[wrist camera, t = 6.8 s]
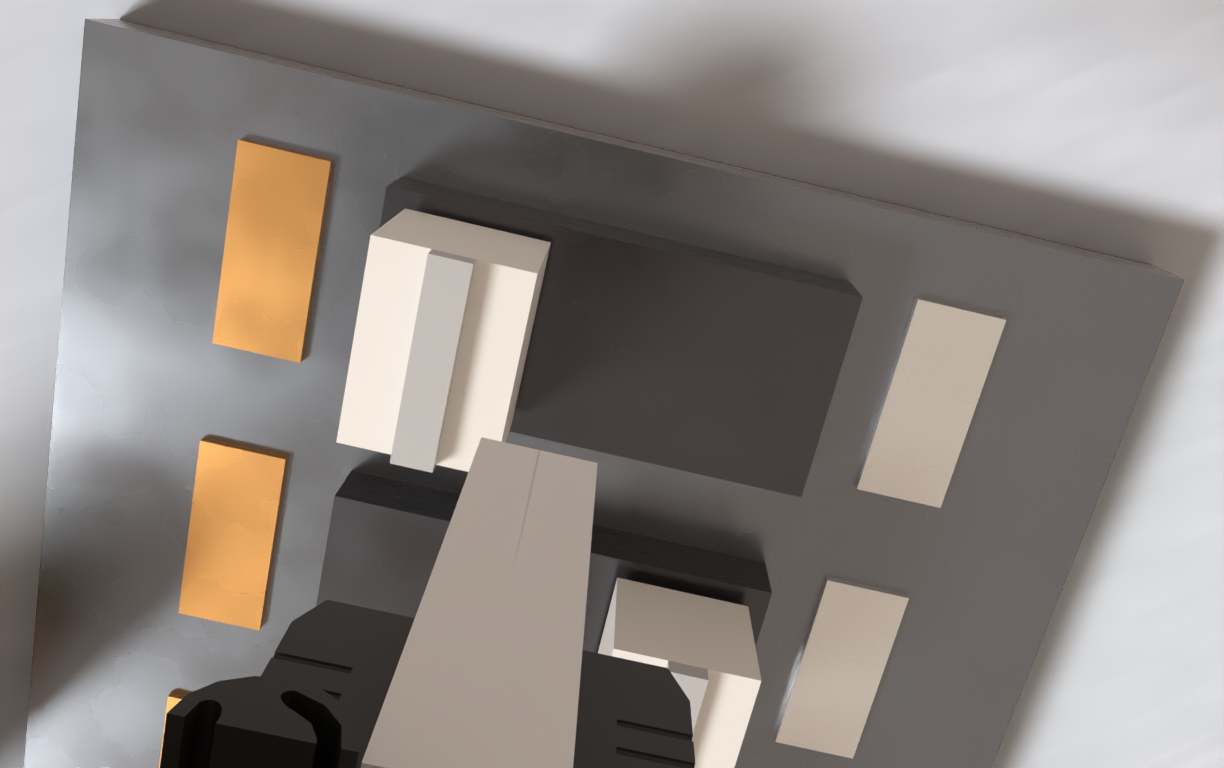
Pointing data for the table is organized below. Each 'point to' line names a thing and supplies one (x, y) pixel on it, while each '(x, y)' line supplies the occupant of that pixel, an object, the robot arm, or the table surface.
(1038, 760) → the table surface
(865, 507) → the panel
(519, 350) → the block
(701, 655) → the breaker
